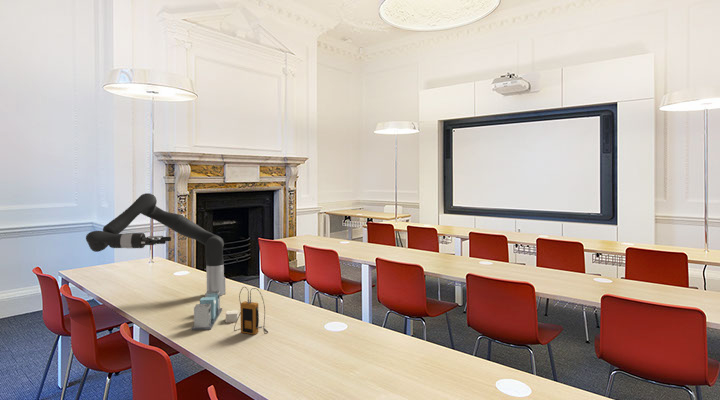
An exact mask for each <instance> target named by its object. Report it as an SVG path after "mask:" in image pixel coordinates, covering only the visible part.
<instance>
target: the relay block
mask: <svg viewBox="0 0 720 400" xmlns="http://www.w3.org/2000/svg"><path fill="white" fill-rule="evenodd" d="M238 317H239V310H238V309H233V310H226V312H225V323H236V321H237V322H238V320H239V318H238ZM237 319H238V320H237Z"/></svg>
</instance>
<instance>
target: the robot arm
mask: <svg viewBox="0 0 720 400" xmlns="http://www.w3.org/2000/svg"><path fill="white" fill-rule="evenodd" d="M139 215H143V216H145V217H148V218H149V219H152V220H155V221H156V222H158V223H160V224H161V225H163V226H165V227H166V228H169V229H170V230H172V231H173V232H175V233H178V234H179V235H181V236H184V237H185V238H190V239H193V240H194V241H197V242H199V243H201V244H203V245H204V246H205V252H204V253H205V263H206V265H205V266H206V267H205V269H206V292H207V291H220V297H221V296H223V295H225V294H226V289H227V288H226V276H225V274H224V273H225V266H224V262H225V261H224V245H225V242H224V239H223V238H222V237H221V236H219V235H217V234H214V233H212V232H210V231H208V230H205V229H204V228H203V227H201V226H200V225H199V224H197V223H196V222H193V221H192V220H191V219H189V218H187V217H186V216H183V215H182V214H179V213H174V212H168V211H165V210H164V209H161V208H160V207H158V206H157V197H156V196H155V195H154V194H152V193H149V192H148V193H142V194H141V195H139V196H138V198H137V199H135V201H134V202H133V203H132V204H131V205H130V206H129V207H128V208H126V209H125V210H124V211H122V213H120V214H119V215H118V216H116V217H115V218H113V219H112V220H111V221H109V222H108V223H107V224H105V225H104V226H103V228H102V230H93V231H90V232H89V233H87V234H86V235H85V240H86V243H87V244H88V247H89V249H90V250H91V251H93V252H94V253H95V252H97V253H98V252H101V251H104V250H105V249H106V248H107V247H110V248H112V249H144V248H145V247H146V246H155V245H165V244H166V243H167V242H171V241H172V237H171V236H163V235H149V236H146V234H145V233H143V232H128V233H127V232H126V233H122V232H123V231H124V230H126V228H127V227H129V225H130V224H131V223H132V222H133V221H134V220H135V219H136V218H137V217H138V216H139Z"/></svg>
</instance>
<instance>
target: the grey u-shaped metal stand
mask: <svg viewBox="0 0 720 400" xmlns="http://www.w3.org/2000/svg"><path fill="white" fill-rule="evenodd" d="M204 297H215V300H216V316H215V318H214V319H211V304H200V303H199V304H197V303H196V305H194V306H193V323H194V324H193V326H192V327H191V331H193V332H194V331H208V330H209V331H210V330H212V329H213V327H214V326H215V323H216V322H217V320H218V318H219V317H220V315H221V314H222V312H223V308H222V307H221V296H220V291H207V290H206V292H205V293H204Z"/></svg>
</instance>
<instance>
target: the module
mask: <svg viewBox="0 0 720 400" xmlns="http://www.w3.org/2000/svg"><path fill="white" fill-rule="evenodd" d="M199 304H211V319H214V318H215V316H216V300H215V297H205V296H204V297H200V299H199Z"/></svg>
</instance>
